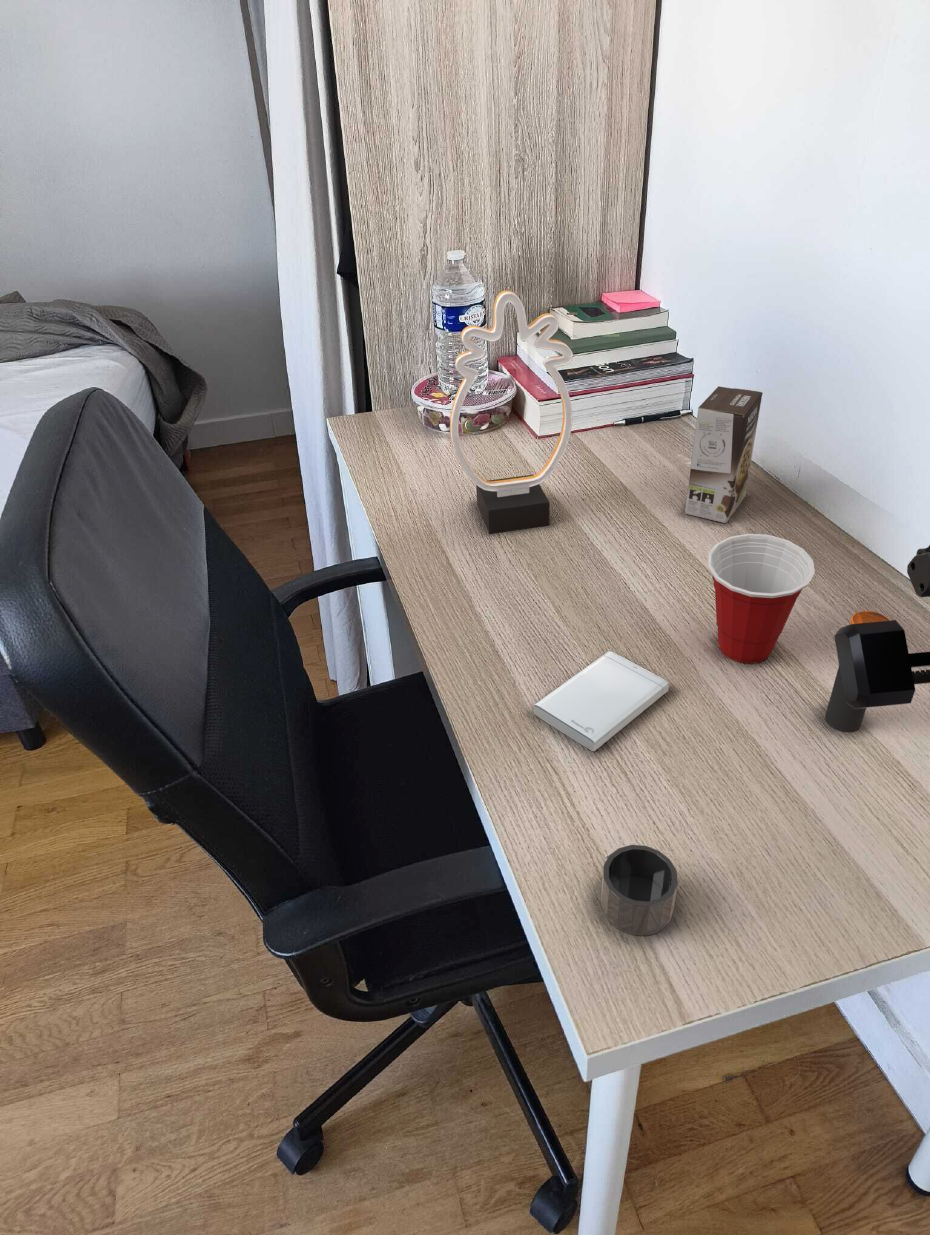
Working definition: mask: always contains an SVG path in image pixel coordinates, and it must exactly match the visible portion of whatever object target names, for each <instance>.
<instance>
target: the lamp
mask: <svg viewBox="0 0 930 1235" xmlns="http://www.w3.org/2000/svg"><path fill="white" fill-rule="evenodd" d="M509 303H510V304H512V306H513V308H514V312H515V314H516V315H515V316H516V323H517V328H518V335H519V339H520V341H522V342H528V341H529V340H530V339H532V338H533V337H534V336H535V335H537V333H539V334H538V337H537V338H536V339H535V341H534V342H533V346H534V347H535V348H536V349H541V350H547V351H552V352H555V353H559V354H560V355H554V356H550V357H549V358H546V359H544V360H542V364H543V367H544V368H545V370H546V371H547V373H548V375H549V376H550V377H551V379H552V380H553V382H554V384H555V386H556V388H557V391H558V393H559V396H560V400H561V405H562V424H561V428H560V429H561V430H560V434H559V438H558V439H557V443H556V445H555V447H554V449H553V451H552V453H551V455H550V457H549V459H548V460H547V462H546V463H545V464H544V466H543V467H542V468H541V469H540V470H539V471H538V473H536V474H526V475H520V476H512V477H511V476H510V477H505V478H504V477H503V478H497V479H496V478H495V479H489V480H485V479H483V478H482V477H481V476H479V475H478V474H477V472H476V471H475V470H474V469H473V468H472V466H471V465H470V463H469V461H468V460H467V458H466V456H465V454H464V452H463V449H462V445H461V442H460V435H459V424H460V415H461V412H462V411H461V410H462V407H463V404H464V402H465V399H466V398H467V395H468V393H469V391H470V389H471V388H472V386H473V385H474V383H475V382H476V380H477V379H478V378H479V375H480V373H479V371H478V370H477V369H476V368H473V367H470V366H468V365H465V364H467V363H469V362H472V361H476V360H477V361H478V360H481V359H483V358H484V357H486V356H485V355H486V352H485V350H484V349H483V348H482V347H481V346H480V345H478V344H477V343H476V342H474V341H473V340H472V339H471V338H473V337H474V338H478V339H481V340H484V341H487V342H491V343H494V342H497V341H499V340H500V339H501V338H502V335H503V331H504V325H505V309H506V306H507V304H509ZM526 314H527V313H526V310H525V307H524V305H523V302H522V300H521V299H520V298H519V296H518V295H517V294H516V293H515V292H513V291H512V290H502V291H500V292H499V294H498V295H497V296H496V298H495V300H494V303H493V324H492V327H491V328H485V327H482V326H479V325H468V326H465V327H464V328H463V329H462V331H461V334H460V340H461V342H462V344H463V346H464V348H465V349H466V350H467V351H463V352H460V353H459V354H458V355H457V356H456V358H455V363H454V367H455V370H456V371H457V372H458V374H459V375H461V376H462V377H463V379H462V381H461V383H460V385H459V387H458V389H457V391H456V394H455V396H454V399H453V402H452V406H451V410H450V417H449V433H450V434H449V435H450V439H451V440H450V441H451V444H452V448H453V451H454V453H455V456H456V458H457V461H458V462H459V464H460V466H461V468H462V469H463V471H464V472H465V474H466V476H467V477H468V478H469V480H471V481H472V482H473V484H475V488H476V505H477V508H478V510H479V512H480V515H481V518H482V520H483V522H484V524H485V527H486V530H487V532H488V534H489V535H490V534H497V533H504V532H512V531H518V530H519V531H520V530H525V529H531V528H532V529H533V528H540V527H541V528H542V527H547V526H550V501H549V498H548V497H547V495H546V494H545V492H544V490H543V488H542V486H541V485H540V484H542V483H544V482H545V481H546V480H547V479H548V478H549V477H550V476H551V475H552V474H553V473H554V471H555V470H556V469H557V467H558V465H559V464H560V461H561V460H562V458H563V456H564V454H565V452H566V449H567V447H568V445H569V441H570V437H571V433H572V428H573V406H572V401H571V397H570V393H569V391H568V387H567V385H566V383H565V380H564V379H563V377H562V375H561V374H560V372H559V371H558V369H557V368H558V367H564V366H568V365H569V364H571V363H572V361H573V359H574V353H573V351H572V349H571V347H569V346H568V344H566V343H565V342H563V341H561V340H559V339H551V338H552V337H554V335H555V334H556V333H557V332H558V330H559V326H560V325H559V320H558V319H557V317H556V316H555V315H553V313H549V312H546V313H543V314H540V315H539V316H537V317H536V318H535V319H533V321H532V322H530V323H528V321H527V315H526Z"/></svg>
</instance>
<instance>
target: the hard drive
mask: <svg viewBox="0 0 930 1235" xmlns="http://www.w3.org/2000/svg"><path fill="white" fill-rule="evenodd" d="M669 689H670V683H669V681H667V679H664V678H663V677H661V676H659V675H657V674H655V673H653V672H651V671H649V670H648V669H646V668H644V667H642V666H641V665H639V664H636V663H634V662H632V661H631V660H629V659H627V658H625V657H623V656H621V655H620V654H617V653H616V652H613V651H611V650H608V651H607V652H606V653H604V654H602V655H601V656H599V657H598V658H596V659H595V660H594V661H592V662H591V663H590V664H589V665H587V666H586V667H584V668H583V669H582V670H580V671H578V672H577V673H576V674H575V675H573V676H571V677H570V678H569V679H567V680H566V681H565V682H563V683H562V684H561V685H559V686H558V687H557V688H555V689H554V690H553V691H551V692H550V693H548V694H547V695H546V696H544V697H543V698H541V699H540V700H539V701H537V702H536V703H534V704H533V714H534V715H535V716H536V717H538V718H539V719H541V720H543V721H544V722H546V723H547V724H548V725H550V726H552V727H554V728H555V729H556V730H557V731H560V732H561V733H563V734H564V735H566V736H567V737H569V738H570V739H572V740H573V741H575V742H576V743H578V744H580V745H581V746H583V747H584V748H586V749H587V750H589V751H591V752H596V751H597V750H598V749H599V748H600V747H602V746H603V745H604V744H605V743H607V742H608V741H609V740H610V739H611V738H612V737H614V736H615V735H617V734H618V733H619V732H620V731H621V730H622V729H624V728H625V727H626V726H627V725H628V724H630V723H631V722H632V721H633V720H635V719H636V718H637V717H639V716H640V715H641V714H642V713H643V712H645V711H646V710H647V709H648V708H649V707H650V706H652V705H653V704H654V703H655V702H657V701H658V700H659V699H661V698H662V697H663V696H664V695H665V694H666V693H667V692H669Z"/></svg>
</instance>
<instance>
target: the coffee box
mask: <svg viewBox="0 0 930 1235" xmlns="http://www.w3.org/2000/svg"><path fill="white" fill-rule="evenodd" d="M763 394H764V393H763V392H762V391H758V390H753V389H752V390H751V389H743V388H735V387H733V388H732V387H726V386H717V387H716V388H715V389H714V390H713V391H712V392H711V393H710V394H709V396H707V398H706V399H705V400H704V401H703V402H702V403H701V404H700V405H699V406H698V407H697V415H696V423H695V431H694V438H693V447H692V454H691V461H690V470H689V478H688V486H687V492H686V502H685V509H684V514H685V515H689V516H694V517H698V518H702V519H706V520H710V521H714V522H718V523H722V524H727V523H728V522H729V520H730V519H731V517H732V516H733V515H734V513H735V512H736V511H737V509H738V507H740V505H741V504H742V502H743V500H744V499H745V498H746V495H747V489H748V482H749V477H750V472H751V465H752V459H753V454H754V453H753V452H754V447H755V441H756V433H757V429H758V422H759V418H760V417H759V416H760V410H761V404H762V397H763Z"/></svg>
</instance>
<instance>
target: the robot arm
mask: <svg viewBox="0 0 930 1235" xmlns="http://www.w3.org/2000/svg"><path fill="white" fill-rule="evenodd" d="M906 567H907V568H906V573H907V576H908V578H909V580H910V583H911V585H912V588H913V590H914V591H915V594H916V596H918V597H919V598H930V544H929V545H928V546H927V547H924V548H918V549H917V551H916V555H915V556H913V557H912V559H911V560H909V562H908V564H907V566H906ZM833 637H834V641H835V650H836V654H837V660H838V668H839V667H840V672H841V678H842V684H843V690H844V696H845V702H846V703H847V704H848V705H850V706H851V707H852V708H853V709H860V708H866V709H868V708H869V709H870V708H880V707H890V706H891V707H892V706H898V705H908V704H912V701H913V698H914V695H915V692H916V685H925V684H930V669H926V670H925V669H921V670H913V669H914V668H915V669H917V668H925V667H926V668H928V667H930V651H922V652H910V653H909V648H908V642H907V637H906V632H905V629H904V628H903V627H902V626H901V624H900V623H899V622H898V621H897V620H896V619H893V620H892V619H890V621H880V622H869V623H858V624H850V623H849V624H848V625H847V624H846V625H845V626H841V627H840V628H839V629H837V632H835V634H834V636H833Z"/></svg>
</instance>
